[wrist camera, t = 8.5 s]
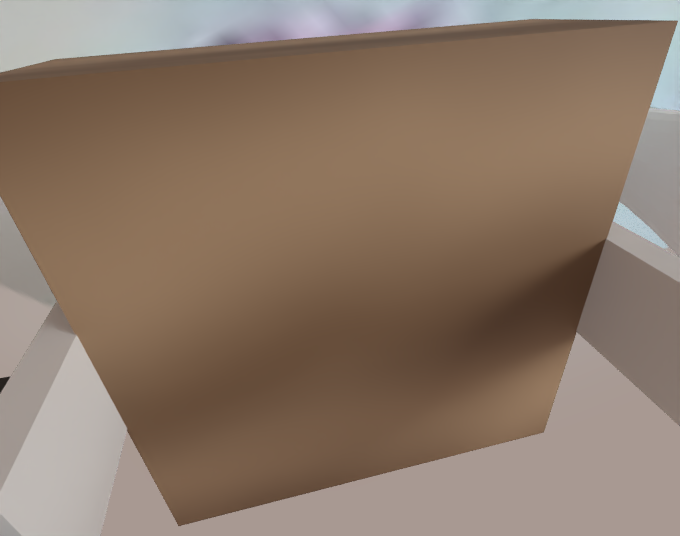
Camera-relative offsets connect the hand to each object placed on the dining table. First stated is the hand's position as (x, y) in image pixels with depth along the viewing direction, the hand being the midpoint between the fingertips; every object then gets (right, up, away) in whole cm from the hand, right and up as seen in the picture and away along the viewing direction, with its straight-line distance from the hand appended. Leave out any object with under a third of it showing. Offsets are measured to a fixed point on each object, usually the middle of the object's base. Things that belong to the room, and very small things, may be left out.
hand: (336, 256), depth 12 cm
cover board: (0, 0, 0) cm, 1 cm away
